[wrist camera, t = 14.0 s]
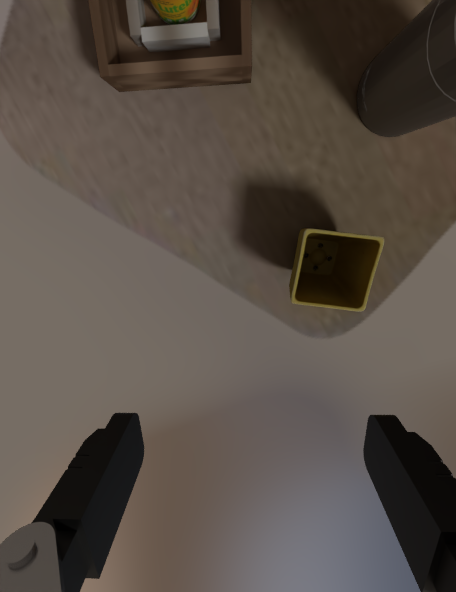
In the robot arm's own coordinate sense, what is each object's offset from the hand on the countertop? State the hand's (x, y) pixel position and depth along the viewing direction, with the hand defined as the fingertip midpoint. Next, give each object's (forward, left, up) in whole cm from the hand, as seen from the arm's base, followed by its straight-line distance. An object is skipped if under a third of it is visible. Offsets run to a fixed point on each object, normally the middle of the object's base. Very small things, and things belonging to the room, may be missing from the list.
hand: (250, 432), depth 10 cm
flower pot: (-10, +1, -33) cm, 35 cm away
